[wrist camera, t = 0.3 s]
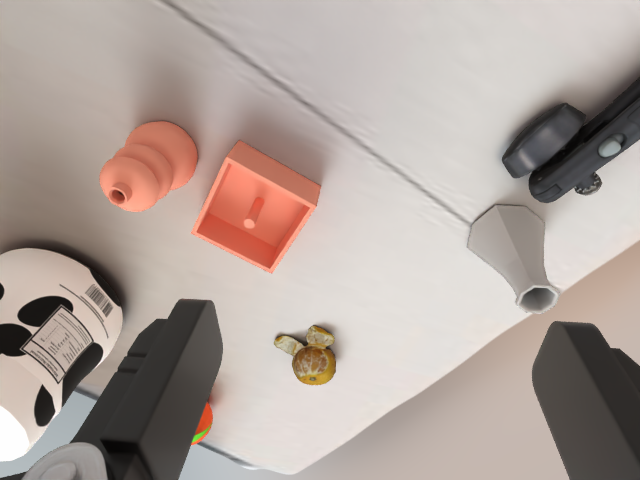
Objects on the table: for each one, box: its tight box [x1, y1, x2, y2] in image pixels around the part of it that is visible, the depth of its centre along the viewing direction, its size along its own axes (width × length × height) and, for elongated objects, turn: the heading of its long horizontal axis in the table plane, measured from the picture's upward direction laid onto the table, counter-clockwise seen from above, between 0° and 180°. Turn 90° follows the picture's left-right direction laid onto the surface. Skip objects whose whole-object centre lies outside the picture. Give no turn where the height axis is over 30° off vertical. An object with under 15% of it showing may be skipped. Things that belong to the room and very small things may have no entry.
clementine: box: [191, 403, 213, 445], centre depth 60 cm, size 8×7×7 cm
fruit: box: [274, 326, 336, 385], centre depth 52 cm, size 8×8×4 cm
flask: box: [467, 205, 560, 314], centre depth 37 cm, size 7×7×10 cm
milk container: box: [0, 248, 123, 461], centre depth 45 cm, size 17×17×18 cm
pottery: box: [99, 121, 321, 274], centre depth 37 cm, size 18×10×10 cm, turn 60°
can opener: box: [502, 78, 640, 203], centre depth 31 cm, size 18×7×6 cm, turn 137°
